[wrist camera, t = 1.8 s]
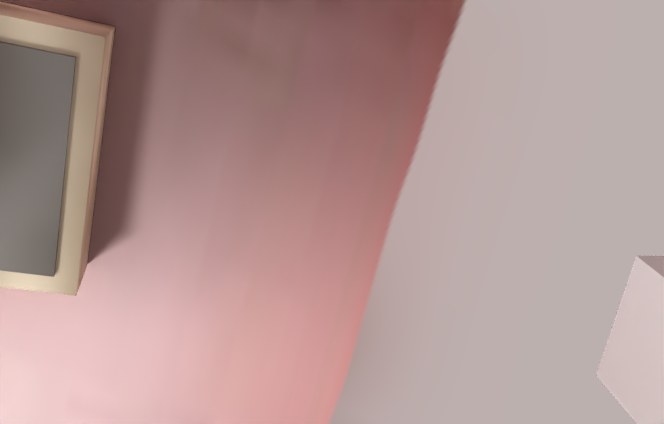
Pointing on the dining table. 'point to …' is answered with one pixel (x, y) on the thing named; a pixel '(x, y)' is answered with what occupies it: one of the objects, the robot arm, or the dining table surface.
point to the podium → (49, 144)
